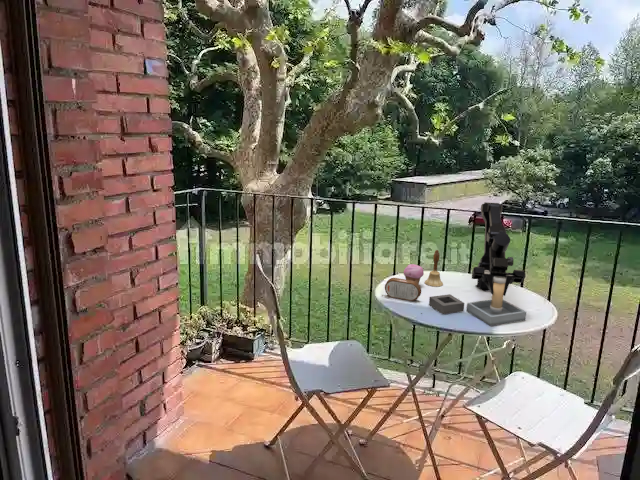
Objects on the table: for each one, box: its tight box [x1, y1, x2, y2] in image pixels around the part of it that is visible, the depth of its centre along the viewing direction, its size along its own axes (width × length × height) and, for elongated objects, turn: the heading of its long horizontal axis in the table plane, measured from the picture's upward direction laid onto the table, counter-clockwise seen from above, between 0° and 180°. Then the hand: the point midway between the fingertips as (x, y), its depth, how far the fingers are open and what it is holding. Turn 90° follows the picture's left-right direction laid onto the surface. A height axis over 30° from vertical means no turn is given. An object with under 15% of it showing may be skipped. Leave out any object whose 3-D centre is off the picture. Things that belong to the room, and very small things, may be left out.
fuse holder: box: [428, 294, 465, 315], centre depth 184 cm, size 10×10×4 cm
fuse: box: [490, 276, 506, 312], centre depth 176 cm, size 4×4×13 cm
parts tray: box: [466, 299, 527, 327], centre depth 178 cm, size 16×14×4 cm
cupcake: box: [403, 263, 425, 285], centre depth 207 cm, size 9×9×10 cm
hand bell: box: [424, 249, 444, 288], centre depth 210 cm, size 8×8×16 cm
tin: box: [384, 277, 422, 302], centre depth 193 cm, size 15×3×8 cm, turn 65°
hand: (498, 295), depth 175 cm, fingers closed on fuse, 4 cm apart
